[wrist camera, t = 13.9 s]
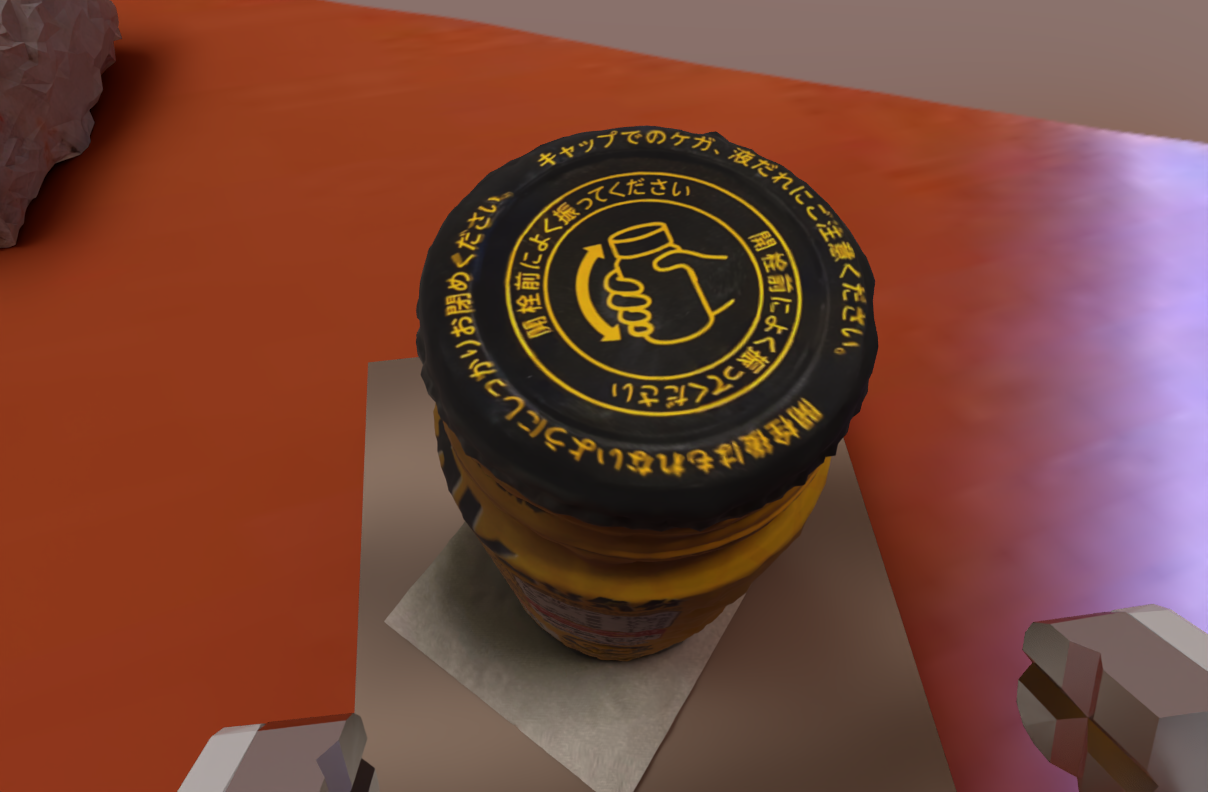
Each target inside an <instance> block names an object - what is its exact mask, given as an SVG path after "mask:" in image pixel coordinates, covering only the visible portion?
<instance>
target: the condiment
mask: <svg viewBox="0 0 1208 792" xmlns="http://www.w3.org/2000/svg"><path fill="white" fill-rule="evenodd" d="M874 286H875V279H874V276H873V273H872V270H871V268H870V265H869V263H868V260H867V257H866V256H865V255H864V253H863V252H862V250H861V248H860V247H859V245H858V243H857V242H856V240H855V238H854V237H853V235H852V234H851V232H850V230H849V229H848V228H847V226H846V225H845V224H844V223H843V221H842V220H841V219H840V218H839V216H838V215H837V214H836V213H835V211H834V210H833V209H832V208H831V207H830V205H829V204H828V203H827V202H826V201H825V200H824V199H823V198H821V197H820V196H819V195H818V194H817V193H816V192H815V191H814V190H813V189H812V188H811V187H810V186H809V185H808V184H807V183H806V182H804V181H802V180H801V179H799V178H797V177H796V176H795V175H794V174H793V173H792V172H791V171H789V170H788V169H786V168H785V167H784V166H782V165H780V164H778V163H776V162H773V161H771V160H768V159H766V158H764V157H762V156H760V155H758V154H757V153H755V152H754V151H753V150H752V149H749V148H746V147H742V146H739V145H736V144H733V143H731V142H729V141H728V140H726V139H725V138H724V137H723V136H722V135H720V134H719V133H717V132H709V133H705V134H694V133H689V132H686V131H682V130H677V129H672V128H664V127H657V126H634V127H622V128H615V129H608V130H603V131H591V132H583V133H578V134H574V135H571V136H567V137H562V138H560V139H557V140H554V141H551V142H548V143H546V144H543V145H540V146H539V147H537V148H535V149H534V150H532V151H531V152H529V153H527V154H525V155H523V156H521V157H519V158H517V159H514V160H511V161H510V162H508V163H506V164H505V165H503V166H502V167H500V168H498V169H497V170H494V171H492V172H490V173H489V174H488V175H487V176H486V177H485V178H484V179H483V180H481V181H480V182H479V183H478V184H477V186H476V187H475V188H474V189H473V190H472V191H471V192H470V193H469V194H468V195H467V196H466V197H465V198H464V199H463V200H462V201H461V202H460V203H459V204H458V206H456V207H455V208H454V209H453V210H452V211H451V212H450V213H449V215H448V216H447V218H446V219H445V221H444V223H443V224H442V226H441V228H440V230H439V232H438V234H437V236H436V238H435V240H434V242H433V244H432V246H431V247H430V248H429V250H428V254H427V258H426V261H425V265H424V268H423V272H422V276H421V281H420V290H419V299H418V303H417V309H416V313H417V318H418V319H419V320H420V328H419V330H418V332H417V335H416V336H417V339H416V345H417V352H418V356H419V358H420V360H421V362H422V364H423V366H422V369H421V374H420V375H421V377H422V379H423V381H424V383H425V386H426V389H427V392H428V395H429V396H430V397H431V398H432V399H433V400H434V401H435V408H434V411H433V414H434V428H435V436H436V439H437V452H438V456H439V460H440V465H441V468H442V471H443V474H444V476H445V478H446V482H447V486H448V491H449V492H450V493H451V495H452V497H453V499H454V501H455V503H456V505H457V506H458V508H459V510H460V512H461V513H462V516H463V519H464V520H465V522H464V523H463V525H462V526H461V527H460V529H459V530H458V531H457V532H456V534H455V535H454V536H453V537H452V538H451V539H450V540H449V542H448V543H447V545H446V546H445V547H444V549H443V550H442V551H441V553H440V554H439V555H438V556H437V557H436V558H435V560H434V561H433V562H432V564H431V565H430V566H429V567H428V568H427V570H426V571H425V572H424V573H423V574H422V575H421V576H420V578H419V579H418V580H417V581H416V582H415V583H414V585H413V586H412V587H411V588H410V589H409V590H408V591H407V593H406V594H405V595H404V597H403V598H402V600H401V601H400V602H399V603H398V605H397V606H396V607H395V608H394V610H393V611H392V612H391V613H390V614H389V616H388V617H387V618H386V620H385V621H384V622H385V623H386V624H387V625H389V626H390V627H391V628H392V629H394V630H395V631H396V632H397V633H399V634H400V635H401V636H402V637H404V638H405V639H407V640H408V641H409V642H410V643H412V644H413V645H414V646H415V647H417V648H418V649H419V650H420V651H422V652H423V653H424V654H425V655H427V656H428V657H429V658H430V659H432V660H433V661H434V662H435V663H437V664H438V665H439V666H440V667H442V668H443V669H444V670H445V671H447V672H448V673H449V674H450V675H452V676H453V677H454V678H456V679H457V680H458V681H459V682H460V683H461V684H462V685H464V686H465V687H467V688H468V689H469V690H470V691H472V692H473V693H474V694H476V695H477V696H478V697H479V698H480V699H482V700H483V701H484V702H485V703H487V704H488V705H489V706H490V707H491V708H493V709H494V710H495V711H496V712H498V713H499V714H500V715H501V716H503V717H504V718H505V719H506V720H508V721H509V722H510V723H512V724H513V725H515V726H516V727H518V729H519V730H520V731H521V732H523V733H524V734H525V735H526V736H528V737H529V738H530V739H531V740H532V741H534V742H535V743H536V744H537V745H539V746H540V747H542V748H543V749H544V750H545V751H546V752H547V753H548V754H550V755H551V756H552V757H553V758H555V759H556V760H557V761H559V762H560V763H561V764H562V765H564V766H565V767H566V768H567V769H569V770H570V771H571V772H572V773H574V774H575V775H576V776H578V777H579V778H580V779H581V780H582V781H583V782H584V783H586V784H587V785H588V786H589V787H591V788H592V789H593V790H594V791H596V792H633V791H634V789H635V788H636V786H637V784H638V783H639V781H640V779H641V777H642V776H643V774H644V772H645V770H646V768H647V767H648V765H649V763H650V761H651V759H652V758H653V756H654V754H655V752H656V751H657V749H658V747H659V745H660V744H661V742H662V740H663V739H664V737H665V735H666V734H667V732H668V730H669V728H670V727H671V725H672V723H673V721H674V719H675V717H676V715H677V713H678V712H679V710H680V708H681V707H682V705H683V703H684V702H685V700H686V698H687V697H688V695H689V693H690V691H691V690H692V688H693V686H694V684H695V682H696V681H697V679H698V677H699V675H700V674H701V672H702V670H703V668H704V667H705V665H706V663H707V661H708V660H709V658H710V656H711V654H712V652H713V651H714V649H715V647H716V645H717V644H718V642H719V640H720V638H721V636H722V635H723V633H724V631H725V629H726V628H727V626H728V624H729V622H730V621H731V619H732V617H733V615H734V614H735V612H736V610H737V609H738V607H739V605H740V603H741V601H742V600H743V598H744V596H745V594H746V593H747V591H748V589H749V587H750V586H751V584H752V582H753V581H754V580H755V579H756V578H757V577H759V576H760V575H761V574H762V573H763V572H764V571H765V570H766V569H767V568H768V567H769V566H770V565H771V564H772V563H773V562H774V561H775V560H776V559H777V558H778V557H779V556H780V555H781V554H782V552H784V551H785V550H786V549H787V548H788V547H789V546H790V545H791V543H792V542H793V541H794V540H796V539H797V538H798V537H799V536H800V535H801V532H802V529H803V527H804V525H805V522H806V520H807V518H808V517H809V515H810V514H811V512H812V510H813V509H814V507H815V505H816V503H817V501H818V499H819V497H820V494H821V492H822V490H823V488H824V486H825V484H826V480H827V474H828V470H829V466H830V461H831V456H836V452H837V447H838V444H839V442H840V441H841V440H842V438H843V437H844V436H845V435H846V433H847V432H848V428H849V423H850V420H851V419H852V417H854V416H855V415H856V414H857V413H859V412H860V409H861V405H862V402H863V400H864V398H865V396H866V394H867V392H868V381H869V378H870V376H871V374H872V371H873V367H874V363H875V359H876V355H877V350H878V336H877V331H876V326H875V321H874V312H873V295H874ZM610 667H612V668H610ZM594 673H595V674H594Z"/></svg>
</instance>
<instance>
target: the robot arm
mask: <svg viewBox="0 0 1208 792" xmlns="http://www.w3.org/2000/svg"><path fill="white" fill-rule="evenodd" d="M1023 651H1024V652H1025V654H1026V655H1027V656H1028V658H1029V659H1030V660H1031V662H1032V664H1031V665H1030V666H1029V667H1028V669H1027V670H1026V671H1025V672H1024V673H1023V675H1022V676H1021V677H1020V678H1019V679H1018V690H1017V705H1018V709H1019V712H1020V716H1021V719H1022V722H1023V726H1024V727H1025V729H1026V731H1027V733H1028V734H1029V736H1030V738H1031V740H1032V741H1033V743H1034V744H1035V746H1036V747H1037V748H1038V749H1039V750H1040V752H1041V753H1042V754H1043V755H1044V756H1045V757H1046V759H1047V760H1048V761H1049V762H1050V763H1052V764H1053V765H1055V766H1057V767H1059V768H1061V769H1063V770H1065V771H1066V772H1068V773H1070V774H1072V775H1074V776H1076V777H1077V779H1078V788H1079V792H1208V634H1207V633H1205V632H1204V631H1202V630H1201V629H1199V628H1198V627H1196V626H1195V625H1193V624H1192V623H1190V622H1189V621H1187V620H1186V619H1184V618H1183V617H1181V616H1180V615H1178V614H1177V613H1175V612H1174V611H1172V610H1170V609H1167V608H1164V607H1161V606H1158V605H1155V604H1150V605H1143V606H1137V607H1130V608H1124V609H1117V610H1113V611H1111V612H1101V613H1094V614H1087V615H1080V616H1073V617H1066V618H1059V619H1052V620H1045V621H1038V622H1033V623H1032V624H1031V625H1030V627H1029V628H1028V630H1027V631H1026V632H1025V637H1024V644H1023ZM367 739H368V738H367V735H366V732H365V729H364V725H363V722H362V719H361V716H359V715H357V714H355V713H347V714H338V715H329V716H320V717H310V718H301V719H292V720H283V721H273V722H268V723H267V724H255V725H245V726H236V727H226V728H223V729H221V730H220V731H219V732H217V733H216V734H215V735H213V736H212V737H211V738H210V739H209V741H208V743H207V744H206V746H205V747H204V749H203V751H202V752H201V754H200V756H199V757H198V759H197V760H196V762H195V764H194V765H193V767H192V769H191V770H190V772H189V773H188V775H187V777H186V778H185V780H184V782H183V783H182V785H181V786H180V788H179V790H178V791H177V792H380V789H379V782H378V778H377V774H376V770H375V768H374V767H373V766H372V765H370V764H369V763H368V762H366V761H365V760H364V759H362V754H363V751H364V748H365V745H366V742H367Z"/></svg>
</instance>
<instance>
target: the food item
mask: <svg viewBox="0 0 1208 792" xmlns="http://www.w3.org/2000/svg"><path fill="white" fill-rule="evenodd" d="M118 24H119V21H118V15H117V10H116V7H115V5H114V4H113V3H112V1H110V0H0V248H9V247H11V246H14V245H16V241H17V237H18V232H19V229H20V227H21V226H22V225H23V224H24V218H25V212H26V208H27V207H28V205H29V204H30V202H31V201H32V199H33V198H36V197H37V194H38V192H39V189H40V187H41V184H42V182H43V180H44V178H45V176H46V174H47V173H48V172H49V170H50V169H51V168H52V166H53V165H54V164H55V163H58V162H61V161H64V160H66V159H69V158H72V157H75V156H78V155H81V154H82V152H83V151H84V150H85V149H87V148H88V147H89V144H90V142H91V140H90V134H91V131H92V128H93V126H94V123H95V122H94V120H93V118H92V115H91V113H90V111H89V110H90V109H91V108H92V107H93V106H94V105H95V104H96V103H97V102H98V100H99V98H100V95H101V93H102V90H103V87H102V80H101V75H102V74H103V73H104V71H105V70H106V69H107V68H109V67H110V66H111V65H112V64H114V63H115V62H116V57H115V49H114V43H113V41H115V40H119V39H122V37H121V34H120V31H119V28H118Z"/></svg>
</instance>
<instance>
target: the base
mask: <svg viewBox="0 0 1208 792" xmlns="http://www.w3.org/2000/svg"><path fill="white" fill-rule="evenodd" d="M422 366H423V364H422V362H421V360H420V358H419V357H416V358H407V359H397V360H388V361H379V362H370V363H368V384H367V410H366V436H365V461H364V487H363V513H362V538H361V564H360V589H359V615H358V641H357V666H356V692H355V714H357V715H359V716H361V719H362V722H363V725H364V729H365V732H366V735H367V738H368V739H367V742H366V745H365V748H364V751H363V754H362V759H364V760H365V761H366V762H368V763H369V764H370V765H372V766H373V767H374V768H375V770H376V774H377V778H378V782H379V789H380V792H596V791H594V790H593V789H592V788H591V787H589V786H588V785H587V784H586V783H584V782H583V781H582V780H581V779H580V778H579V777H578V776H576V775H575V774H574V773H572V772H571V771H570V770H569V769H567V768H566V767H565V766H564V765H562V764H561V763H560V762H559V761H557V760H556V759H555V758H553V757H552V756H551V755H550V754H548V753H547V752H546V751H545V750H544V749H543V748H542V747H540V746H539V745H537V744H536V743H535V742H534V741H532V740H531V739H530V738H529V737H528V736H526V735H525V734H524V733H523V732H521V731H520V730H519V729H518V727H516V726H515V725H513V724H512V723H510V722H509V721H508V720H506V719H505V718H504V717H503V716H501V715H500V714H499V713H498V712H496V711H495V710H494V709H493V708H491V707H490V706H489V705H488V704H487V703H485V702H484V701H483V700H482V699H480V698H479V697H478V696H477V695H476V694H474V693H473V692H472V691H470V690H469V689H468V688H467V687H465V686H464V685H462V684H461V683H460V682H459V681H458V680H457V679H456V678H454V677H453V676H452V675H450V674H449V673H448V672H447V671H445V670H444V669H443V668H442V667H440V666H439V665H438V664H437V663H435V662H434V661H433V660H432V659H430V658H429V657H428V656H427V655H425V654H424V653H423V652H422V651H420V650H419V649H418V648H417V647H415V646H414V645H413V644H412V643H410V642H409V641H408V640H407V639H405V638H404V637H402V636H401V635H400V634H399V633H397V632H396V631H395V630H394V629H392V628H391V627H390V626H389V625H387V624H386V623H385V622H384V621H385V620H386V618H387V617H388V616H389V614H390V613H391V612H392V611H393V610H394V608H395V607H396V606H397V605H398V603H399V602H400V601H401V600H402V598H403V597H404V595H405V594H406V593H407V591H408V590H409V589H410V588H411V587H412V586H413V585H414V583H415V582H416V581H417V580H418V579H419V578H420V576H421V575H422V574H423V573H424V572H425V571H426V570H427V568H428V567H429V566H430V565H431V564H432V562H433V561H434V560H435V558H436V557H437V556H438V555H439V554H440V553H441V551H442V550H443V549H444V547H445V546H446V545H447V543H448V542H449V540H450V539H451V538H452V537H453V536H454V535H455V534H456V532H457V531H458V530H459V529H460V527H461V526H462V525H463V523H464V522H465V520H464V519H463V516H462V513H461V512H460V510H459V508H458V506H457V505H456V503H455V501H454V499H453V497H452V495H451V493H450V492H449V491H448V486H447V482H446V478H445V476H444V474H443V471H442V468H441V465H440V460H439V456H438V452H437V439H436V436H435V428H434V414H433V411H434V408H435V401H434V400H433V399H432V398H431V397H430V396H429V395H428V392H427V389H426V386H425V383H424V381H423V379H422V377H421V375H420V374H421V369H422ZM610 668H612V667H610ZM594 674H595V673H594ZM633 792H957V791H956V788H955V785H954V782H953V779H952V776H951V773H950V770H949V766H948V763H947V760H946V757H945V754H944V751H943V748H942V745H941V741H940V738H939V735H938V732H937V729H936V726H935V723H934V720H933V716H932V713H931V710H930V707H929V704H928V701H927V698H926V695H925V691H924V688H923V685H922V682H921V679H920V676H919V673H918V670H917V666H916V663H915V660H914V657H913V654H912V651H911V648H910V645H909V641H908V638H907V635H906V632H905V629H904V626H903V623H902V620H901V616H900V613H899V610H898V607H897V604H896V601H895V598H894V595H893V591H892V588H891V585H890V582H889V579H888V576H887V573H886V570H885V566H884V563H883V560H882V557H881V554H880V551H879V548H878V545H877V541H876V538H875V535H874V532H873V529H872V526H871V523H870V520H869V516H868V513H867V510H866V507H865V504H864V501H863V498H862V495H861V491H860V488H859V485H858V482H857V479H856V476H855V473H854V469H853V466H852V463H851V460H850V457H849V454H848V451H847V448H846V444H845V441H844V438H842V440H841V441H840V442H839V444H838V447H837V452H836V456H831V461H830V466H829V470H828V474H827V480H826V484H825V486H824V488H823V490H822V492H821V494H820V497H819V499H818V501H817V503H816V505H815V507H814V509H813V510H812V512H811V514H810V515H809V517H808V518H807V520H806V522H805V525H804V527H803V529H802V532H801V535H800V536H799V537H798V538H797V539H796V540H794V541H793V542H792V543H791V545H790V546H789V547H788V548H787V549H786V550H785V551H784V552H782V554H781V555H780V556H779V557H778V558H777V559H776V560H775V561H774V562H773V563H772V564H771V565H770V566H769V567H768V568H767V569H766V570H765V571H764V572H763V573H762V574H761V575H760V576H759V577H757V578H756V579H755V580H754V581H753V582H752V584H751V586H750V587H749V589H748V591H747V593H746V594H745V596H744V598H743V600H742V601H741V603H740V605H739V607H738V609H737V610H736V612H735V614H734V615H733V617H732V619H731V621H730V622H729V624H728V626H727V628H726V629H725V631H724V633H723V635H722V636H721V638H720V640H719V642H718V644H717V645H716V647H715V649H714V651H713V652H712V654H711V656H710V658H709V660H708V661H707V663H706V665H705V667H704V668H703V670H702V672H701V674H700V675H699V677H698V679H697V681H696V682H695V684H694V686H693V688H692V690H691V691H690V693H689V695H688V697H687V698H686V700H685V702H684V703H683V705H682V707H681V708H680V710H679V712H678V713H677V715H676V717H675V719H674V721H673V723H672V725H671V727H670V728H669V730H668V732H667V734H666V735H665V737H664V739H663V740H662V742H661V744H660V745H659V747H658V749H657V751H656V752H655V754H654V756H653V758H652V759H651V761H650V763H649V765H648V767H647V768H646V770H645V772H644V774H643V776H642V777H641V779H640V781H639V783H638V784H637V786H636V788H635V789H634V791H633Z"/></svg>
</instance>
